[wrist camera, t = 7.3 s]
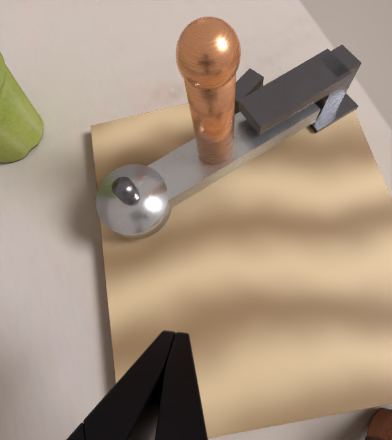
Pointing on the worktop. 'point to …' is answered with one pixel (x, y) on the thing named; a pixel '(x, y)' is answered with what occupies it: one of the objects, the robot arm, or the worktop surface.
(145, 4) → the worktop surface
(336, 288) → the board
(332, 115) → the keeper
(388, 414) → the pottery mug
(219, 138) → the latch lever
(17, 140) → the plant pot
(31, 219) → the worktop surface
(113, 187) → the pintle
